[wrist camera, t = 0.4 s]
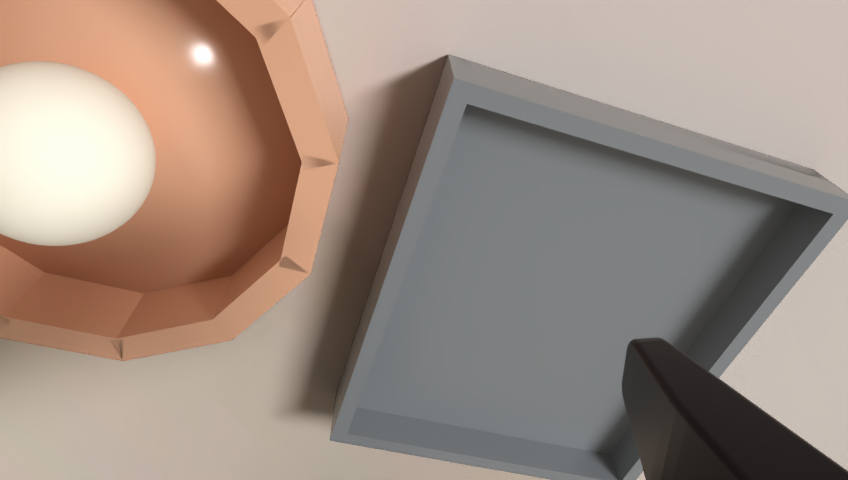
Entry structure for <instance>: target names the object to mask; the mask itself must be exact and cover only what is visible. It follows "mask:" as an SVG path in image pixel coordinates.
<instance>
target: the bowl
mask: <svg viewBox="0 0 848 480" xmlns="http://www.w3.org/2000/svg"><path fill="white" fill-rule="evenodd" d="M27 61H48V62H57V63H63V64H68V65H72V66H75V67H78V68H81V69H84V70H87V71H89V72H91V73H94V74H96V75H98V76H100V77H102V78H103V79H105V80H107V81H108V82H110V83H111V84H113V85H114V86H115V87H117V88H118V89H119V90H121V91H122V92H123V93H124V94H125V95H126V96H127V97H128V98H129V99H130V100H131V101H132V102H133V103H134V104H135V106H136V107H137V108H138V110H139V111H140V112H141V114H142V116H143V117H144V119H145V121H146V123H147V125H148V127H149V129H150V132H151V135H152V138H153V142H154V146H155V152H156V170H155V176H154V180H153V183H152V186H151V189H150V192H149V194H148V196H147V198H146V200H145V201H144V203H143V204H142V206H141V207H140V208H139V210H138V211H137V212H136V213H135V214H134V215H133V216H132V217H131V218H130V219H129V220H128V221H127V222H126V223H125V224H123V225H122V226H120V227H119V228H117V229H116V230H114V231H112V232H111V233H109V234H107V235H105V236H102V237H100V238H97V239H95V240H92V241H88V242H85V243H80V244H74V245H67V246H45V245H36V244H30V243H26V242H22V241H19V240H15V239H12V238H9V237H7V236H4V235H2V234H0V338H4V339H9V340H15V341H20V342H25V343H30V344H36V345H41V346H46V347H52V348H57V349H62V350H67V351H73V352H78V353H83V354H88V355H94V356H99V357H104V358H110V359H115V360H120V361H126V360H131V359H136V358H142V357H147V356H152V355H157V354H162V353H167V352H173V351H178V350H183V349H188V348H193V347H199V346H204V345H209V344H214V343H219V342H224V341H230V340H233V339H234V338H235V337H236V336H237V335H239V334H240V333H241V332H242V331H243V330H244V329H246V328H247V327H248V326H249V325H250V324H252V323H253V322H254V321H255V320H256V319H258V318H259V317H260V316H261V315H262V314H264V313H265V312H266V311H267V310H268V309H269V308H271V307H272V306H273V305H274V304H275V303H277V302H278V301H279V300H280V299H281V298H283V297H284V296H285V295H286V294H287V293H288V292H290V291H291V290H292V289H293V288H294V287H296V286H297V285H298V284H299V283H300V282H302V281H303V280H304V279H305V278H306V277H308V276H309V275H310V274H311V270H312V266H313V262H314V258H315V254H316V250H317V246H318V242H319V238H320V235H321V231H322V227H323V223H324V219H325V215H326V211H327V207H328V203H329V199H330V196H331V192H332V188H333V184H334V180H335V176H336V172H337V168H338V164H339V160H340V156H341V151H342V147H343V143H344V138H345V134H346V129H347V125H348V121H349V118H348V115H347V111H346V108H345V105H344V102H343V98H342V95H341V92H340V89H339V85H338V82H337V79H336V76H335V72H334V69H333V66H332V63H331V59H330V56H329V53H328V50H327V46H326V43H325V40H324V37H323V33H322V30H321V27H320V23H319V20H318V17H317V14H316V10H315V7H314V4H313V1H312V0H0V67H2V66H5V65H8V64H13V63H19V62H27Z"/></svg>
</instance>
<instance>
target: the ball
mask: <svg viewBox="0 0 848 480" xmlns="http://www.w3.org/2000/svg"><path fill="white" fill-rule="evenodd" d="M155 170H156V152H155V146H154V142H153V138H152V135H151V132H150V129H149V127H148V125H147V123H146V121H145V119H144V117H143V116H142V114H141V112H140V111H139V110H138V108H137V107H136V106H135V104H134V103H133V102H132V101H131V100H130V99H129V98H128V97H127V96H126V95H125V94H124V93H123V92H122V91H121V90H119V89H118V88H117V87H115V86H114V85H113V84H111V83H110V82H108V81H107V80H105V79H103V78H102V77H100V76H98V75H96V74H94V73H91V72H89V71H87V70H84V69H81V68H78V67H75V66H72V65H68V64H63V63H57V62H48V61H27V62H19V63H13V64H8V65H5V66H2V67H0V234H2V235H4V236H7V237H9V238H12V239H15V240H19V241H22V242H26V243H30V244H36V245H45V246H67V245H74V244H80V243H85V242H88V241H92V240H95V239H97V238H100V237H102V236H105V235H107V234H109V233H111V232H112V231H114V230H116V229H117V228H119V227H120V226H122V225H123V224H125V223H126V222H127V221H128V220H129V219H130V218H131V217H132V216H133V215H134V214H135V213H136V212H137V211H138V210H139V208H140V207H141V206H142V204H143V203H144V201H145V200H146V198H147V196H148V194H149V192H150V189H151V186H152V183H153V180H154V176H155Z"/></svg>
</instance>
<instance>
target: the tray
mask: <svg viewBox="0 0 848 480" xmlns="http://www.w3.org/2000/svg"><path fill="white" fill-rule="evenodd" d="M847 220H848V194H847V193H846V192H844V191H843V190H842V189H840V188H839V187H837V186H836V185H835V184H833V183H832V182H830V181H829V180H828V179H826V178H825V177H823V176H822V175H821V174H819V173H818V172H816V171H815V170H813V169H809V168H806V167H803V166H800V165H797V164H794V163H790V162H787V161H784V160H781V159H778V158H775V157H771V156H768V155H765V154H762V153H759V152H756V151H752V150H749V149H746V148H743V147H740V146H737V145H733V144H730V143H727V142H724V141H721V140H718V139H714V138H711V137H708V136H705V135H702V134H699V133H695V132H692V131H689V130H686V129H683V128H680V127H676V126H673V125H670V124H667V123H664V122H661V121H657V120H654V119H651V118H648V117H645V116H642V115H638V114H635V113H632V112H629V111H626V110H623V109H619V108H616V107H613V106H610V105H607V104H604V103H600V102H597V101H594V100H591V99H588V98H585V97H581V96H578V95H575V94H572V93H569V92H566V91H562V90H559V89H556V88H553V87H550V86H547V85H543V84H540V83H537V82H534V81H531V80H528V79H524V78H521V77H518V76H515V75H512V74H509V73H505V72H502V71H499V70H496V69H493V68H490V67H486V66H483V65H480V64H477V63H474V62H471V61H467V60H464V59H461V58H458V57H455V56H452V55H448V57H447V60H446V63H445V66H444V69H443V72H442V75H441V78H440V81H439V84H438V87H437V90H436V93H435V96H434V99H433V102H432V105H431V108H430V111H429V114H428V117H427V120H426V123H425V126H424V129H423V132H422V135H421V138H420V141H419V144H418V147H417V151H416V154H415V157H414V160H413V163H412V166H411V169H410V172H409V175H408V178H407V181H406V184H405V187H404V190H403V193H402V196H401V199H400V202H399V205H398V208H397V211H396V214H395V217H394V220H393V223H392V226H391V229H390V232H389V235H388V238H387V241H386V244H385V247H384V250H383V253H382V256H381V260H380V263H379V266H378V269H377V272H376V275H375V278H374V281H373V284H372V287H371V290H370V293H369V296H368V299H367V302H366V305H365V308H364V311H363V314H362V317H361V320H360V323H359V326H358V329H357V332H356V335H355V338H354V341H353V344H352V347H351V350H350V353H349V356H348V359H347V362H346V366H345V369H344V372H343V375H342V378H341V381H340V384H339V387H338V390H337V393H336V397H335V404H334V412H333V420H332V427H331V435H330V441H335V442H341V443H347V444H352V445H358V446H364V447H369V448H375V449H381V450H386V451H392V452H398V453H403V454H409V455H415V456H420V457H426V458H432V459H437V460H443V461H449V462H454V463H460V464H466V465H471V466H477V467H483V468H488V469H494V470H500V471H505V472H511V473H517V474H522V475H528V476H534V477H539V478H545V479H551V480H636V479H637V478H638V477H639V475H640V474H641V473H642V472H643V468H642V464H641V461H640V457H639V453H638V450H637V446H636V443H635V439H634V436H633V432H632V429H631V425H630V422H629V418H628V415H627V411H626V408H625V404H624V400H623V395H622V377H623V371H624V364H625V357H626V351H627V346H628V344H629V342H630V341H631V340H633V339H640V338H654V337H658V338H662V339H664V340H666V341H667V342H669V343H670V344H672V345H673V346H674V347H676V348H677V349H678V350H680V351H681V352H683V353H684V354H685V355H687V356H688V357H690V358H691V359H692V360H694V361H695V362H697V363H698V364H699V365H701V366H702V367H704V368H705V369H706V370H708V371H709V372H710V373H712V374H713V375H715V376H716V377H717V378H719V377H720V376H721V375H722V373H723V372H724V371H725V370H726V368H727V367H728V366H729V365H730V364H731V362H732V361H733V360H734V359H735V357H736V356H737V355H738V354H739V352H740V351H741V350H742V349H743V348H744V346H745V345H746V344H747V343H748V341H749V340H750V339H751V338H752V336H753V335H754V334H755V333H756V332H757V330H758V329H759V328H760V327H761V325H762V324H763V323H764V322H765V321H766V319H767V318H768V317H769V316H770V314H771V313H772V312H773V311H774V309H775V308H776V307H777V306H778V305H779V303H780V302H781V301H782V300H783V298H784V297H785V296H786V295H787V293H788V292H789V291H790V290H791V289H792V287H793V286H794V285H795V284H796V282H797V281H798V280H799V279H800V277H801V276H802V275H803V274H804V273H805V271H806V270H807V269H808V268H809V266H810V265H811V264H812V263H813V262H814V260H815V259H816V258H817V257H818V255H819V254H820V253H821V252H822V250H823V249H824V248H825V247H826V246H827V244H828V243H829V242H830V241H831V239H832V238H833V237H834V236H835V234H836V233H837V232H838V231H839V230H840V228H841V227H842V226H843V225H844V223H845V222H846V221H847Z"/></svg>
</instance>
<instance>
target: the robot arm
mask: <svg viewBox="0 0 848 480" xmlns="http://www.w3.org/2000/svg"><path fill="white" fill-rule="evenodd" d="M622 395H623V400H624V404H625V408H626V411H627V415H628V418H629V422H630V425H631V429H632V432H633V436H634V439H635V443H636V446H637V450H638V453H639V457H640V461H641V464H642V468H643V471H644V475H645V478H646V480H848V471H847V470H846V469H844V468H843V467H841V466H840V465H839V464H837V463H836V462H834V461H833V460H832V459H830V458H829V457H827V456H826V455H825V454H823V453H822V452H820V451H819V450H818V449H816V448H815V447H814V446H812V445H811V444H809V443H808V442H807V441H805V440H804V439H802V438H801V437H800V436H798V435H797V434H795V433H794V432H793V431H791V430H790V429H788V428H787V427H786V426H784V425H783V424H781V423H780V422H779V421H777V420H776V419H775V418H773V417H772V416H770V415H769V414H768V413H766V412H765V411H763V410H762V409H761V408H759V407H758V406H756V405H755V404H754V403H752V402H751V401H749V400H748V399H747V398H745V397H744V396H743V395H741V394H740V393H738V392H737V391H736V390H734V389H733V388H731V387H730V386H729V385H727V384H726V383H724V382H723V381H722V380H720V379H719V378H717V377H716V376H715V375H713V374H712V373H710V372H709V371H708V370H706V369H705V368H704V367H702V366H701V365H699V364H698V363H697V362H695V361H694V360H692V359H691V358H690V357H688V356H687V355H685V354H684V353H683V352H681V351H680V350H678V349H677V348H676V347H674V346H673V345H672V344H670V343H669V342H667V341H666V340H664V339H662V338H658V337H654V338H640V339H633V340H631V341H630V342H629V344H628V346H627V351H626V357H625V364H624V371H623V377H622Z"/></svg>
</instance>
